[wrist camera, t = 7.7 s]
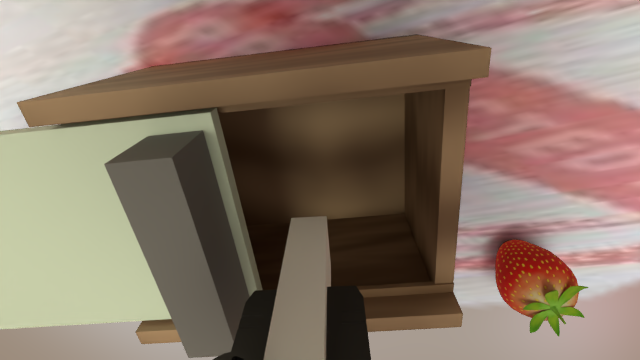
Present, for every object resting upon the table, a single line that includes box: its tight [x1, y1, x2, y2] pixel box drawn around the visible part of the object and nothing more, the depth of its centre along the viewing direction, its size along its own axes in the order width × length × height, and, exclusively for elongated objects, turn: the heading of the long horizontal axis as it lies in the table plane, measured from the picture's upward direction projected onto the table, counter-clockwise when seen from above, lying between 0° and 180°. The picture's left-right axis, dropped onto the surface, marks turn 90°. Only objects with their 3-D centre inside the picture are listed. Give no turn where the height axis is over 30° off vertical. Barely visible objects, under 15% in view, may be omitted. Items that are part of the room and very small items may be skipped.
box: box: [17, 35, 491, 344], centre depth 20 cm, size 14×18×11 cm
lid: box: [0, 108, 263, 358], centre depth 15 cm, size 11×18×4 cm, turn 96°
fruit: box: [495, 240, 588, 336], centre depth 25 cm, size 5×5×8 cm
